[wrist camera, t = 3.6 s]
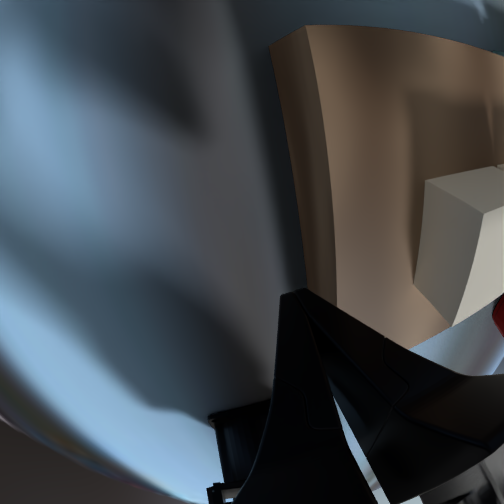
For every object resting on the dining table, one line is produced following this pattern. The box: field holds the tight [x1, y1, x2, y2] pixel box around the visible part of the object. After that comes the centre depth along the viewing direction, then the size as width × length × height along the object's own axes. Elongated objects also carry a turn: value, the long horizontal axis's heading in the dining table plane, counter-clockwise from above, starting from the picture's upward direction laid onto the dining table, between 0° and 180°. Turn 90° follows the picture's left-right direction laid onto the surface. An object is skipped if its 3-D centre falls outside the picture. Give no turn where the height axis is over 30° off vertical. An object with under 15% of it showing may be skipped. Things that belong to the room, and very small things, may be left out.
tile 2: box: [413, 166, 504, 327], centre depth 9 cm, size 5×5×3 cm
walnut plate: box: [269, 25, 504, 349], centre depth 12 cm, size 16×16×4 cm
